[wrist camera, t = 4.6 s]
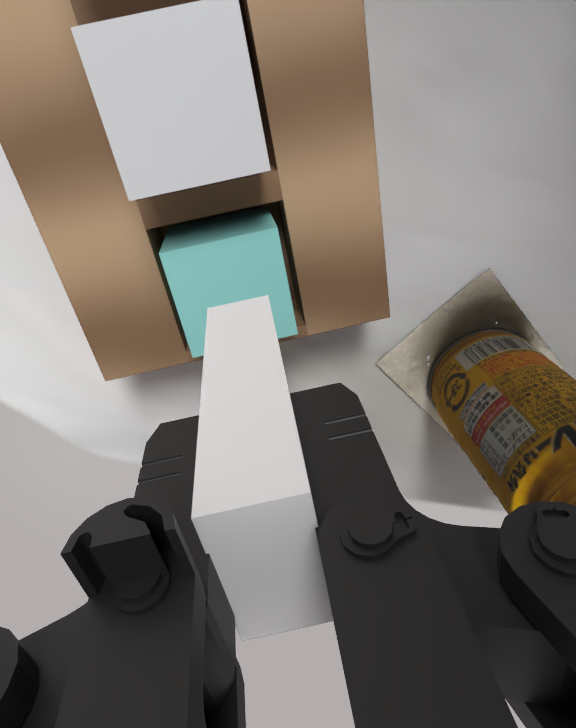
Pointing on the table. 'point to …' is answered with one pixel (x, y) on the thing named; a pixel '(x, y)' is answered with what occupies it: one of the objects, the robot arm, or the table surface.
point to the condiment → (494, 393)
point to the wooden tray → (156, 213)
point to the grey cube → (175, 96)
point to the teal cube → (226, 269)
